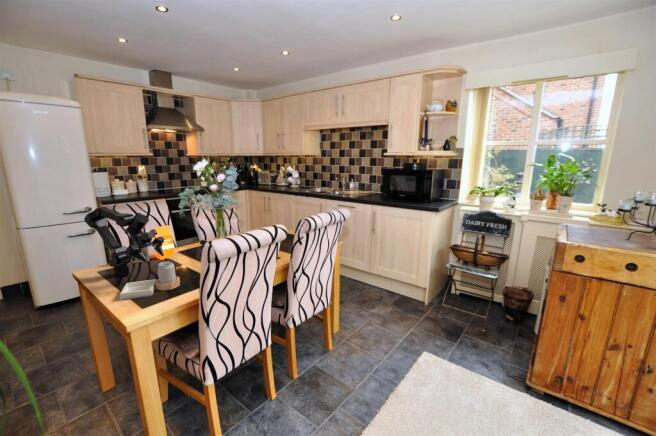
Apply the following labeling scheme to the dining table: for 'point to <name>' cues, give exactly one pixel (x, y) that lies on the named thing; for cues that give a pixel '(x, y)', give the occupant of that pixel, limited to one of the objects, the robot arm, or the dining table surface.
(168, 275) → the can
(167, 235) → the orange juice
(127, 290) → the tray
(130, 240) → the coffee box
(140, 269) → the dining table surface
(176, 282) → the collar
